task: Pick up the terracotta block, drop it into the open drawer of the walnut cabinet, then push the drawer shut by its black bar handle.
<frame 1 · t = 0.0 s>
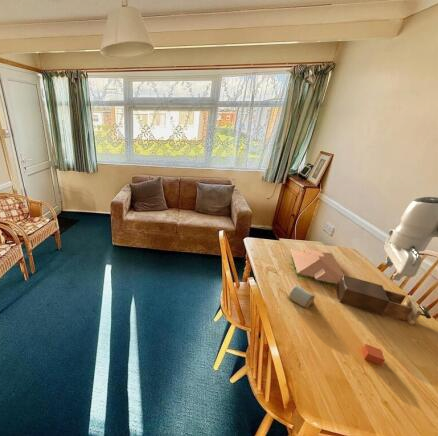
hand: (391, 272, 87), 27 cm above the table, tool pointing down, fingers open, 8 cm apart
house: (314, 268, 132), on the table
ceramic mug: (299, 301, 110), on the table
drawer: (398, 306, 100), point 5 cm above the table, slide at 9.0 cm
block: (369, 359, 84), on the table
cabinet: (356, 302, 109), on the table
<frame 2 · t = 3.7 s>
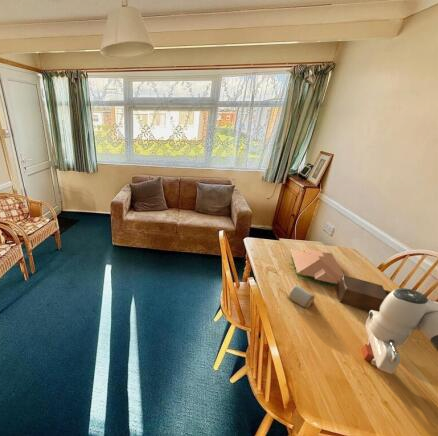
hand: (371, 356, 83), 2 cm above the table, tool pointing down, fingers closed on block, 4 cm apart
block: (369, 359, 84), on the table, touching gripper
everything else where it was.
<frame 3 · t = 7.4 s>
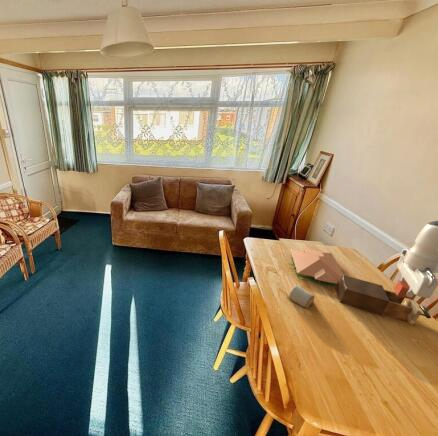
hand: (405, 291, 89), 19 cm above the table, tool pointing down, fingers closed on block, 4 cm apart
block: (403, 294, 90), point 17 cm above the table, touching gripper
everything else where it was.
when the fingers open (9 cm above the table, at t = 11.2 s): block drops 5 cm, resting on drawer.
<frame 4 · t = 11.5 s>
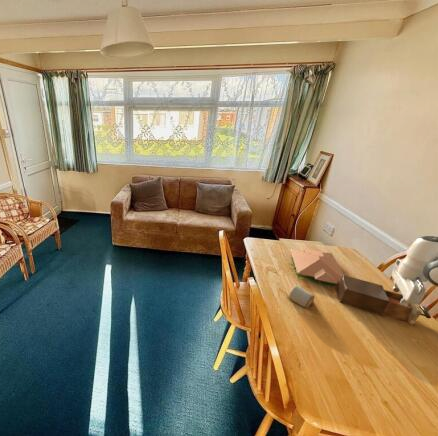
hand: (398, 297, 99), 9 cm above the table, tool pointing down, fingers open, 7 cm apart
drawer: (398, 306, 100), point 5 cm above the table, slide at 9.0 cm, touching block
block: (390, 309, 102), point 2 cm above the table, touching drawer
everything else where it was.
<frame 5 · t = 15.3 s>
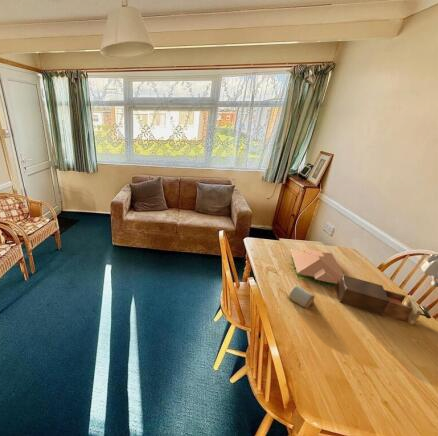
nothing on the table moved.
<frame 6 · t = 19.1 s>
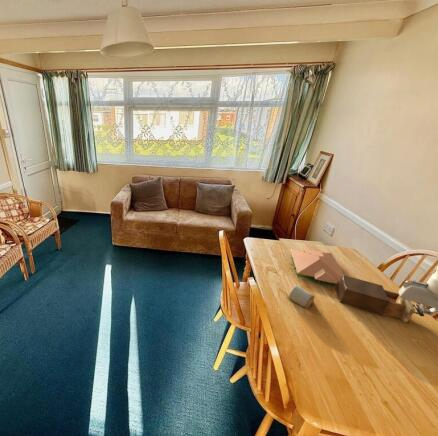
hand: (425, 313, 96), 5 cm above the table, tool pointing down, fingers closed
drawer: (391, 304, 101), point 5 cm above the table, slide at 7.0 cm, touching block
block: (384, 307, 103), point 2 cm above the table, touching drawer
everything else where it was.
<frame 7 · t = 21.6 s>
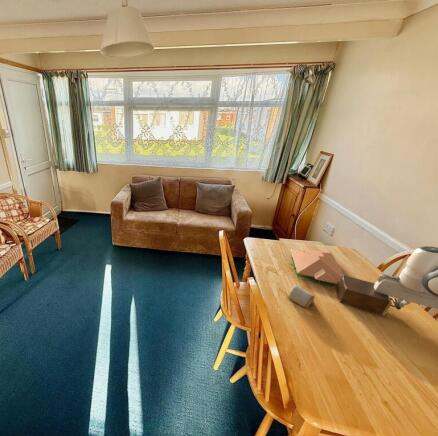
hand: (399, 306, 100), 5 cm above the table, tool pointing down, fingers closed, pressing on drawer
drawer: (371, 298, 105), point 5 cm above the table, slide at 0.0 cm, touching block, cabinet, gripper
block: (364, 301, 107), point 2 cm above the table, touching drawer
everything else where it was.
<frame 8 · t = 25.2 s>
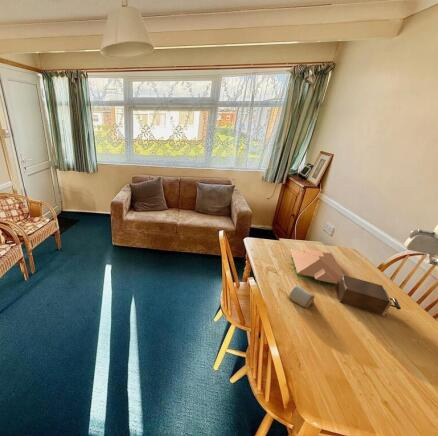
hand: (432, 263, 95), 25 cm above the table, tool pointing down, fingers closed
drawer: (371, 298, 105), point 5 cm above the table, slide at 0.0 cm, touching block
everything else where it was.
at the end: block inside the target area in the cabinet (2.1 cm from its centre), point 2.0 cm above the cabinet's base; drawer slide at 0.0 cm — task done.
